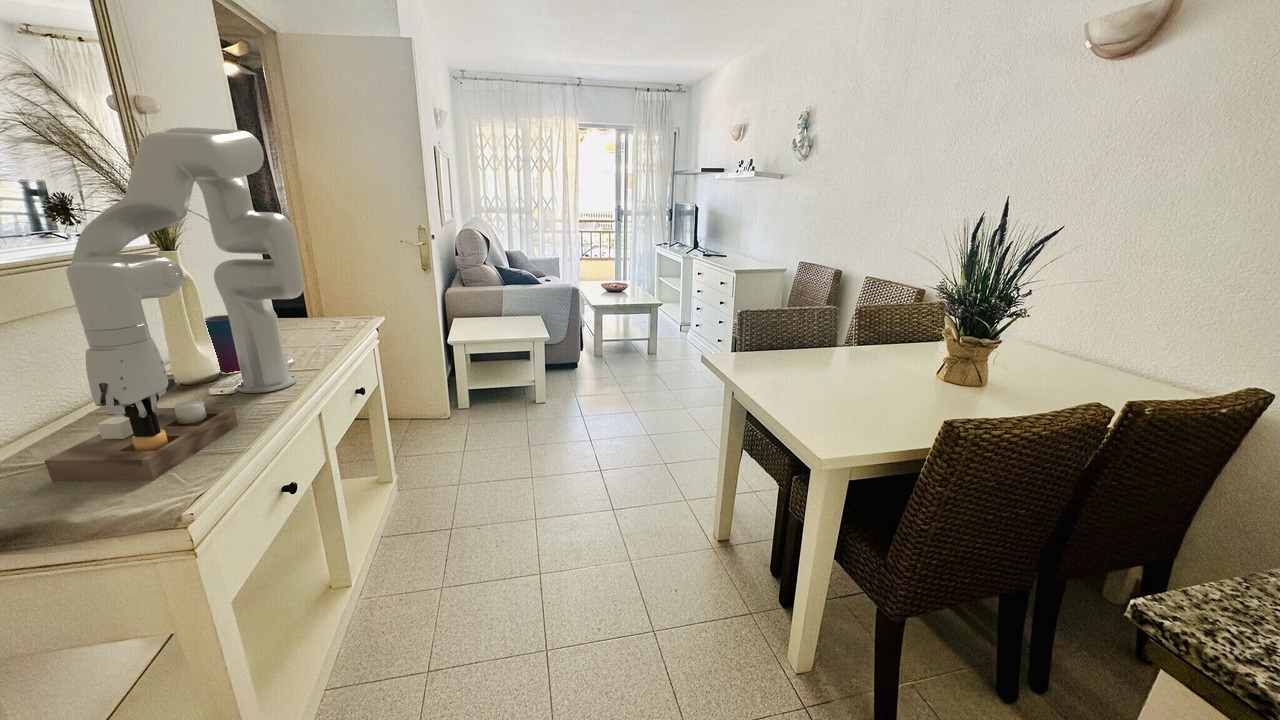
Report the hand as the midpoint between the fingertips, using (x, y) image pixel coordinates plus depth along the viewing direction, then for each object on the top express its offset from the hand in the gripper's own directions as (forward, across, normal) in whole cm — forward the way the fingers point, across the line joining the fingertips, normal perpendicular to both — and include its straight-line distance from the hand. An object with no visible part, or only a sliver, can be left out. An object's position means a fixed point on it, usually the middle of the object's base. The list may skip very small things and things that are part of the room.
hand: (148, 434), depth 92 cm
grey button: (+1, -10, 0) cm, 10 cm away
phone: (+6, -35, -28) cm, 45 cm away
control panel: (+6, -5, -4) cm, 9 cm away
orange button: (+3, 0, 0) cm, 3 cm away
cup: (+6, -50, -19) cm, 54 cm away
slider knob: (+2, -3, -7) cm, 8 cm away
